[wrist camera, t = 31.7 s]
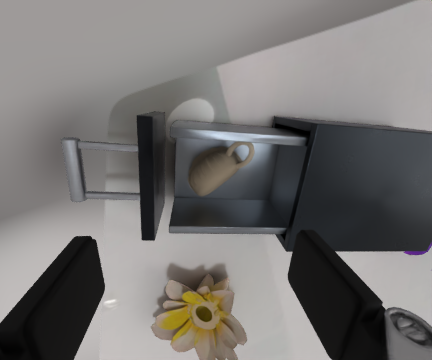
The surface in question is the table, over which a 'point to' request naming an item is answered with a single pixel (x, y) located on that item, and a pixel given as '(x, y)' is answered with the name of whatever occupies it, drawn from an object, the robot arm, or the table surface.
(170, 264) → the table surface
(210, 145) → the drawer with silver handle
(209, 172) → the decorative ornament
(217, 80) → the table surface
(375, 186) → the cabinet
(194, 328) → the decorative flower
